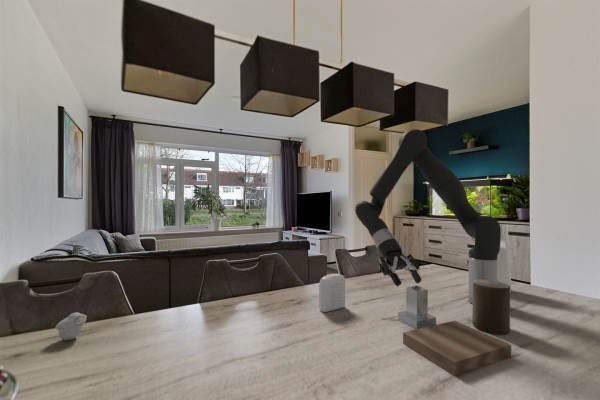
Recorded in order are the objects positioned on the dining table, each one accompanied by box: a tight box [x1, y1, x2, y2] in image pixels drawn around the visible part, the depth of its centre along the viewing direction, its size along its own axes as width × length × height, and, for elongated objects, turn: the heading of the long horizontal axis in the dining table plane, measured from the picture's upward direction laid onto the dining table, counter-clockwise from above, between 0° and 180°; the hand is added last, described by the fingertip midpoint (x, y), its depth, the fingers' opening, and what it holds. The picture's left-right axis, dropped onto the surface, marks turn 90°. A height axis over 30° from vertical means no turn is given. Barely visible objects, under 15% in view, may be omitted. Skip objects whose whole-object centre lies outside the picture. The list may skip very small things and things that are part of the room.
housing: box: [397, 285, 437, 330], centre depth 94 cm, size 8×8×11 cm
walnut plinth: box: [402, 320, 512, 376], centre depth 77 cm, size 20×16×3 cm
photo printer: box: [318, 273, 346, 313], centre depth 105 cm, size 10×4×12 cm, turn 123°
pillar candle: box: [471, 279, 511, 336], centre depth 90 cm, size 10×10×15 cm
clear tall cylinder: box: [497, 230, 512, 293], centre depth 127 cm, size 12×12×26 cm
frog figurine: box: [55, 312, 88, 341], centre depth 82 cm, size 6×7×7 cm
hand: (409, 283), depth 97 cm, fingers open, 8 cm apart
